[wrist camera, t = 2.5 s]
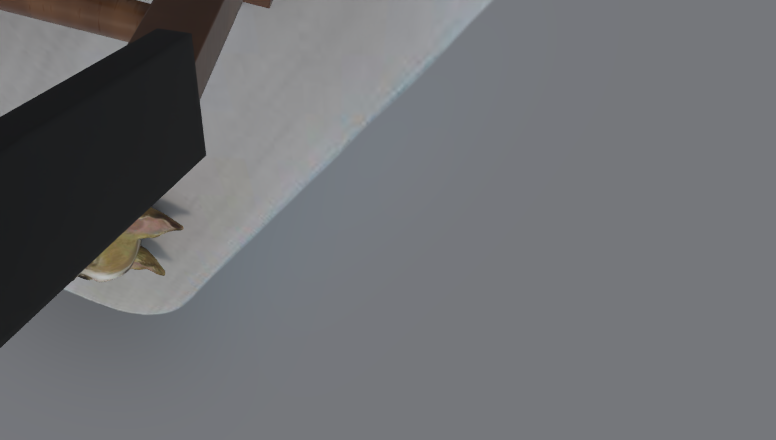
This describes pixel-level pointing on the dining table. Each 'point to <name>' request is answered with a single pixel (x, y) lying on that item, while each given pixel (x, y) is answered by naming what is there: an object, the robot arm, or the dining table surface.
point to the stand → (144, 21)
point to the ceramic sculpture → (131, 249)
